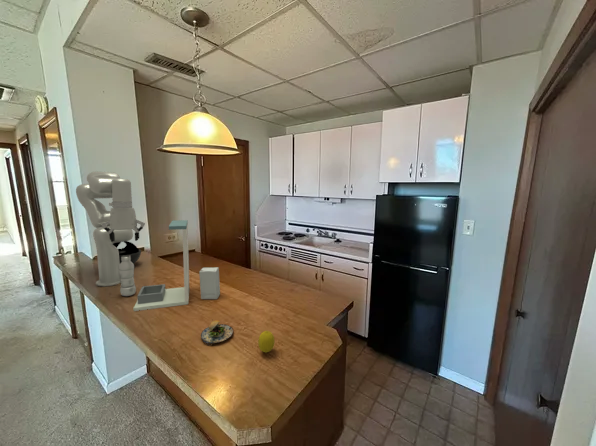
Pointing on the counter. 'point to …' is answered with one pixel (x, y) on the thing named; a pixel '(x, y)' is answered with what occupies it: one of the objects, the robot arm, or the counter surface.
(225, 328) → the plate of salad
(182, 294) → the socket stand
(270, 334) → the lemon
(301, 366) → the counter surface
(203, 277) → the skincare box
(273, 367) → the counter surface
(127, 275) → the grey tall bottle shape
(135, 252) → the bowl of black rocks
